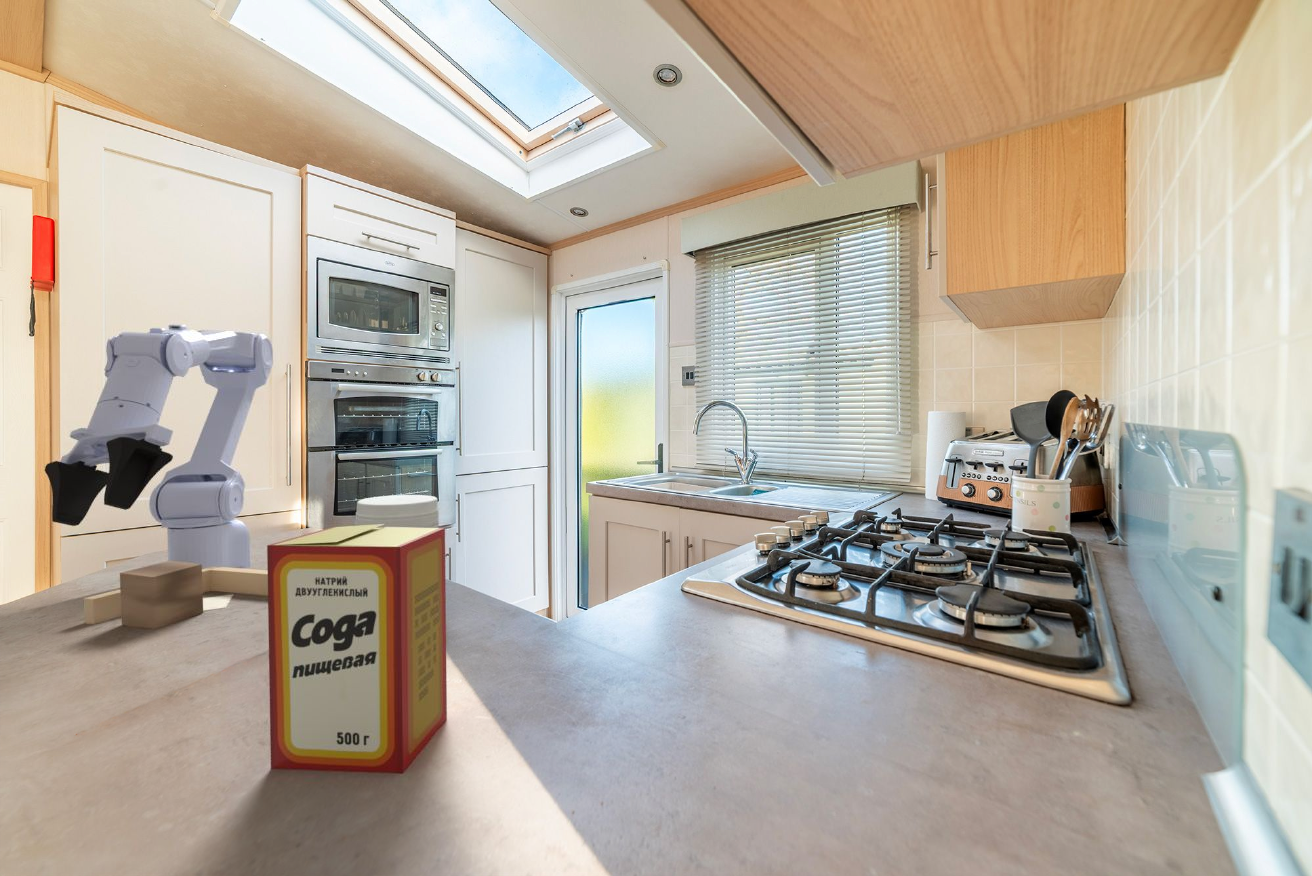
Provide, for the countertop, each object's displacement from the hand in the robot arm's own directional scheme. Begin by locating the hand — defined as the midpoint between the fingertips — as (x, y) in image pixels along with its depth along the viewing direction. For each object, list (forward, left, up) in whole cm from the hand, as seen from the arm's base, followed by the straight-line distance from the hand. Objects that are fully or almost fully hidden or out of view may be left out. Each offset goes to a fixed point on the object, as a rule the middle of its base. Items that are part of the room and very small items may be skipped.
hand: (91, 515), depth 58 cm
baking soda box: (+9, +45, -14) cm, 48 cm away
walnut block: (-4, +5, -13) cm, 14 cm away
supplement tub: (-15, +28, -14) cm, 35 cm away
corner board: (-8, +7, -14) cm, 17 cm away
